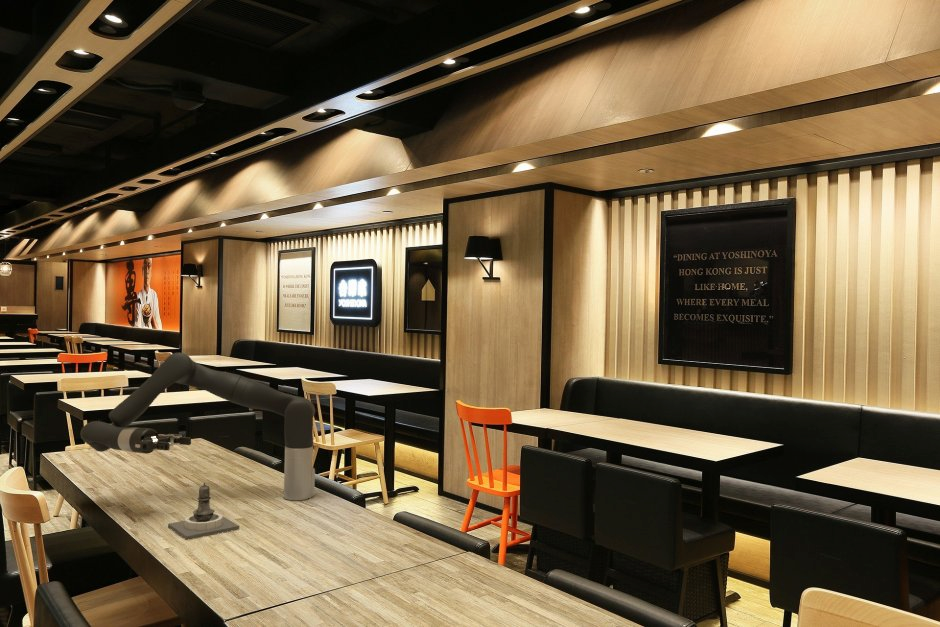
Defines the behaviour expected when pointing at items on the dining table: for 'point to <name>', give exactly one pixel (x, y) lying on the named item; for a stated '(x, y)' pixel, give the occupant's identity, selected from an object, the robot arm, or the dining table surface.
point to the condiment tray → (203, 532)
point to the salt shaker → (203, 505)
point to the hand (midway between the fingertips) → (179, 444)
